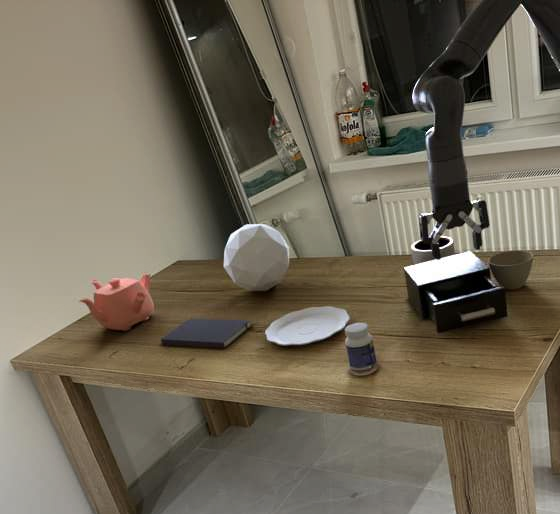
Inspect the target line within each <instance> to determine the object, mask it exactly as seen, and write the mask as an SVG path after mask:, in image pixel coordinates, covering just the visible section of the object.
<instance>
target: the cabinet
mask: <svg viewBox="0 0 560 514" xmlns="http://www.w3.org/2000/svg"><path fill="white" fill-rule="evenodd" d="M403 272H404V278H405V285H406V291H407V298H408V301H409V302H410V304H411V305H412V307H413V308H414V309H415V311H416V312H417V314H418V315H419V316H420V318H421V319H422V320H423V321H424V320H428V319H431V317H430V316H429V315H428V313H427V312H426V310H425V303H424V296H423V289H422V288H424V287H428V286H432V285H436V284H440V283H444V282H448V281H452V280H456V279H460V278H464V277H468V276H473V275H477V274H481V273H484V274H485V275H486V276H487V277H488V278H490V279H491V280H492V275H491V274H492V273H491V269H490V266H489V265H487V264H486V263H485V262H483V261H482V259H480V258H479V257H478V256H476V254H474V253H473V252H472V251H465V252H461V253H458V254H455V255H453V256H449V257H445V258H441V260H433V261H429V262H425V263H420V264H416V265H409V266H408V265H407V266H405V267H403Z"/></svg>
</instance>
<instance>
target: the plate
mask: <svg viewBox="0 0 560 514" xmlns="http://www.w3.org/2000/svg"><path fill="white" fill-rule="evenodd" d="M350 318H351V316H350V315H349V314H348V313H347V310H346V309H343V308H339V307H335V306H333V305H332V306H330V305H326V306H312V307H306V308H303V309H299V310H295V311H292V312H289V313H287V314H285V315H283V316H281V317H279V318H278V319H275V320H274V321H273V322H271V323H270V325H269V326H268V327H267V328H266V329H265V331H264V335H266V340H267V341H268V342H269V343H274V344H276V345H278V346H303V345H309V344H313V343H314V344H315V343H317V342H321V341H324V340H326V339H328V338H330V337H332V336H334V335H335V334H336V333H338V332H340V331H343V330H344V329H345V328H346V327H347V326H346V325H347V323H348V322H349V321H350Z"/></svg>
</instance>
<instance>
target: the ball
mask: <svg viewBox="0 0 560 514" xmlns="http://www.w3.org/2000/svg"><path fill="white" fill-rule="evenodd" d="M289 267H290V247H289V245H288V244H287V242H286V241H285V239H284V238H283V236H282V234H281V232H280V231H278V230H277V229H275V228H274V227H272V226H269V225H268V224H263V223H262V224H260V223H259V224H257V223H256V224H255V223H253V224H251V223H249V224H248V223H246V224H245V225H243V226H242V227H240V228H239V229H238V228H237V230H235V231H234V232H232V233H231V234H230V236H229V237H228V240H227V243H226V244H225V247H224V253H223V269H224V270H225V271H226V273H227V274H228V276H229V277H230V278H231V280H232V282H233V284H236V285H237V286H238V287H240V288H242V289H244V290H245V291H247V292H267V291H269V290H270V289H272V288H273V287H275V286H276V285H278V284H280V283H282V281H283V280H284V277H285V275H286V273H287V271H288V269H289Z"/></svg>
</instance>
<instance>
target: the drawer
mask: <svg viewBox="0 0 560 514" xmlns="http://www.w3.org/2000/svg"><path fill="white" fill-rule="evenodd" d="M422 289H423V296H424V303H425V310H426V312H427V313H428V315H429V316H430V317H431V318H430V320H432V321H433V323H434V325H435V328H436V330H435V331H436V333H437V334H442V333H447V332H451V331H455V330H459V329H463V328H466V327H467V328H468V327H472V326H475V325H479V324H484V323H487V322H491V321H492V322H493V321H496V320H501V319H504V318H508V316H509V315H508V306H507V303H508V302H507V294H506V293H507V291H506V289H505V287H503V286H502V287H501V286H499V285H497V284H496V283H495V281H493V280H492V278H491V279H490V278H488V277H487V276H486V275H485V274H484V273H481V274H477V275H473V276H468V277H464V278H460V279H456V280H452V281H448V282H444V283H440V284H436V285H432V286H428V287H424V288H422ZM464 295H465V296H464ZM458 296H461V297H458ZM455 297H457V298H455Z"/></svg>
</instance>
